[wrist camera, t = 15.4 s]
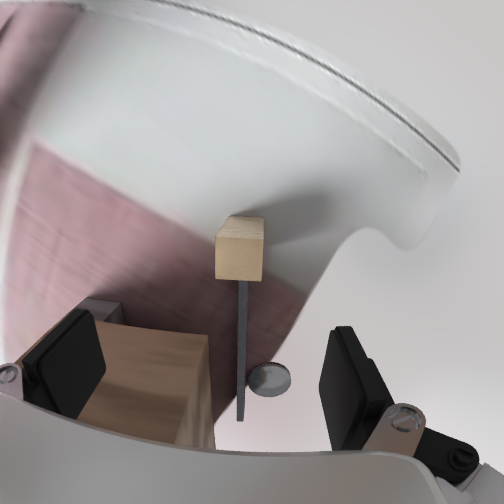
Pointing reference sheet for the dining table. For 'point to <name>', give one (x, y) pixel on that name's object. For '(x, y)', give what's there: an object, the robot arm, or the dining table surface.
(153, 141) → the dining table surface
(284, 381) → the steel token
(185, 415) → the cabinet
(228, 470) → the robot arm
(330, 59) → the dining table surface
